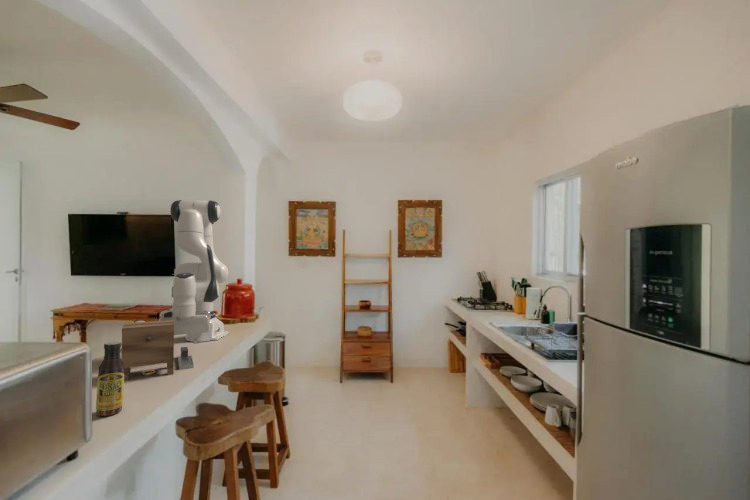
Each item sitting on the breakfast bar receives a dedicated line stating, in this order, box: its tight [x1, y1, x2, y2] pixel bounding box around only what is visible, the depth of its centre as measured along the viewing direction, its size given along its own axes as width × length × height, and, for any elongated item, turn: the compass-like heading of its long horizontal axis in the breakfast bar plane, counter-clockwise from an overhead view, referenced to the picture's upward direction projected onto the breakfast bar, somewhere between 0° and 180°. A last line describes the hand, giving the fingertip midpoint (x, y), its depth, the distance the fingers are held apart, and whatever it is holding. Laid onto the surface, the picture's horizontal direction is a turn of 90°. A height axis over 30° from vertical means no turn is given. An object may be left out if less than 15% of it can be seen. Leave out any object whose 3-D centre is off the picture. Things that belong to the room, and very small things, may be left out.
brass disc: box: [142, 368, 156, 376], centre depth 139 cm, size 4×4×1 cm
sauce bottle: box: [95, 340, 125, 417], centre depth 106 cm, size 6×6×20 cm
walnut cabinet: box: [121, 320, 175, 382], centre depth 138 cm, size 11×16×18 cm
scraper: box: [177, 346, 195, 370], centre depth 152 cm, size 18×5×4 cm, turn 30°
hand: (183, 344), depth 157 cm, fingers open, 8 cm apart
